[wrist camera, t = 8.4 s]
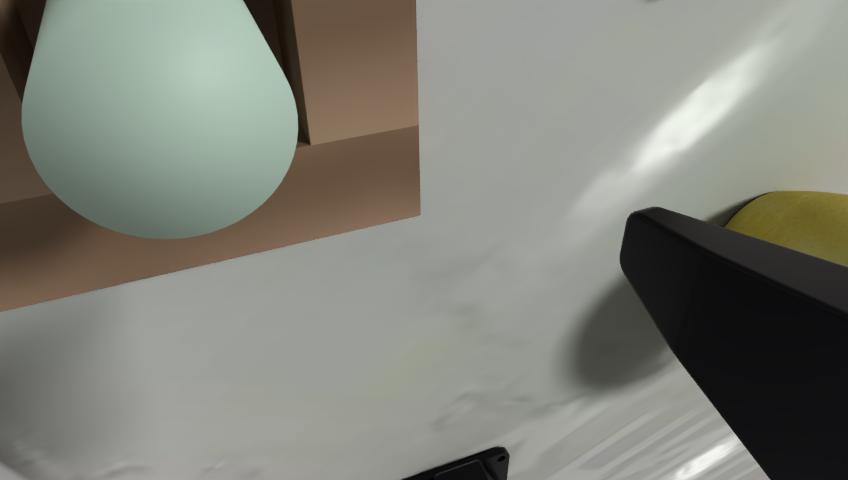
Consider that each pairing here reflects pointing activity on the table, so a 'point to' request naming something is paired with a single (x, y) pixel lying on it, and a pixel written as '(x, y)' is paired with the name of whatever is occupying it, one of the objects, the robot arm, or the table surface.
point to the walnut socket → (292, 200)
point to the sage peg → (157, 114)
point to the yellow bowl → (799, 222)
